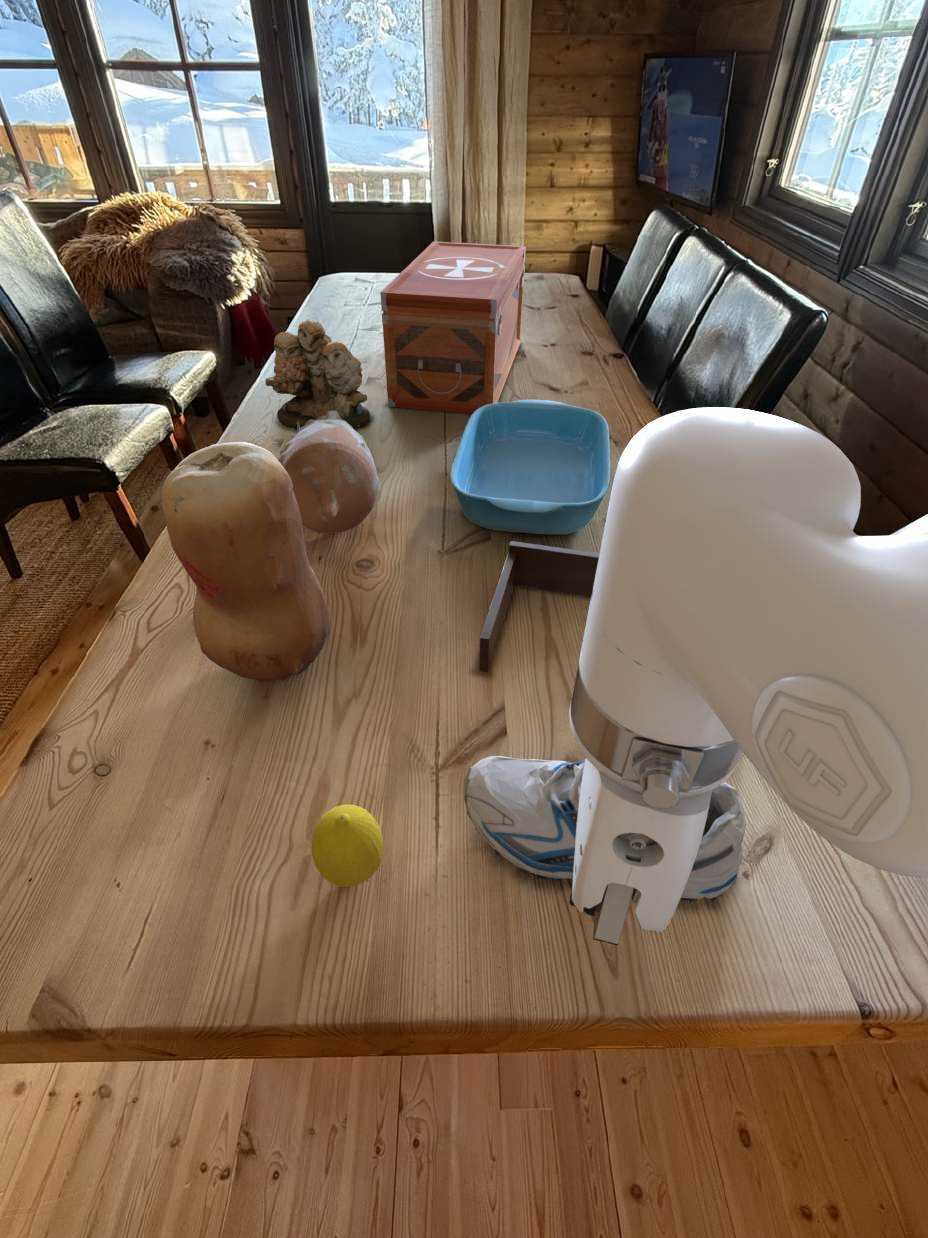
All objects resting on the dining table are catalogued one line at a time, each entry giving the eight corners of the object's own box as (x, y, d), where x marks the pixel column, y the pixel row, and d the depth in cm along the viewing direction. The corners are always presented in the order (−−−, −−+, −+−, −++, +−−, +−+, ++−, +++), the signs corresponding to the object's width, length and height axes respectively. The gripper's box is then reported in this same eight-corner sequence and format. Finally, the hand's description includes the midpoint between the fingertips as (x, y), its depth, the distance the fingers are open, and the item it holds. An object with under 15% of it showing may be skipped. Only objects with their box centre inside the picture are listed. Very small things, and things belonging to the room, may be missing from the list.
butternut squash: (187, 665, 72) (108, 456, 56) (286, 606, 80) (242, 407, 63) (264, 730, 65) (198, 513, 49) (364, 659, 73) (336, 451, 57)
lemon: (394, 891, 53) (387, 837, 48) (326, 914, 51) (311, 861, 46) (377, 833, 57) (369, 777, 52) (313, 853, 55) (298, 798, 50)
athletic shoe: (469, 765, 62) (469, 706, 52) (720, 798, 60) (768, 742, 50) (454, 876, 56) (450, 832, 46) (730, 916, 54) (787, 879, 44)
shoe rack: (747, 719, 67) (765, 678, 63) (478, 671, 72) (480, 630, 68) (736, 614, 79) (750, 574, 75) (507, 579, 84) (510, 540, 80)
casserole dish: (475, 430, 117) (476, 391, 112) (602, 439, 115) (608, 399, 110) (438, 547, 89) (437, 501, 85) (604, 563, 87) (613, 516, 82)
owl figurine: (264, 432, 116) (243, 331, 105) (281, 404, 125) (264, 309, 114) (365, 434, 115) (355, 333, 104) (375, 407, 124) (367, 311, 113)
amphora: (266, 488, 76) (286, 351, 95) (268, 580, 88) (286, 443, 107) (385, 500, 79) (382, 365, 98) (372, 588, 91) (371, 453, 110)
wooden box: (521, 343, 152) (527, 245, 139) (494, 416, 122) (498, 300, 109) (435, 337, 155) (433, 240, 142) (387, 406, 124) (379, 292, 111)
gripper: (768, 888, 22) (654, 1052, 35) (738, 609, 33) (659, 809, 45) (549, 838, 24) (514, 1013, 36) (589, 584, 34) (552, 786, 47)
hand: (595, 898), depth 41 cm, fingers closed
